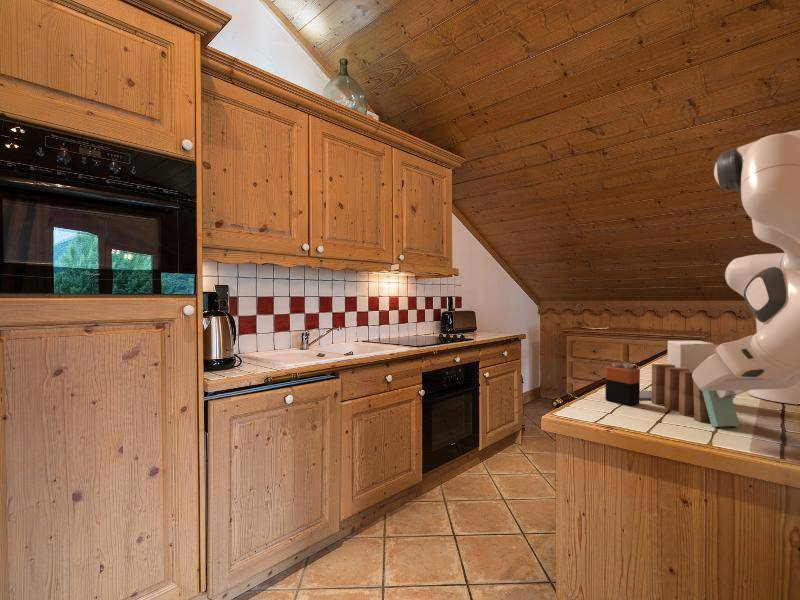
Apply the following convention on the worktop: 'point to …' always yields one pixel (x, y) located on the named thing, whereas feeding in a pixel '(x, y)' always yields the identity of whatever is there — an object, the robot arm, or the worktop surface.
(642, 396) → the pad
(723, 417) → the domino end
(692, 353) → the skincare box
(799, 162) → the robot arm
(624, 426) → the worktop surface
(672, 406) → the domino
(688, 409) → the domino
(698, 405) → the domino
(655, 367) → the domino
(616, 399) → the battery
